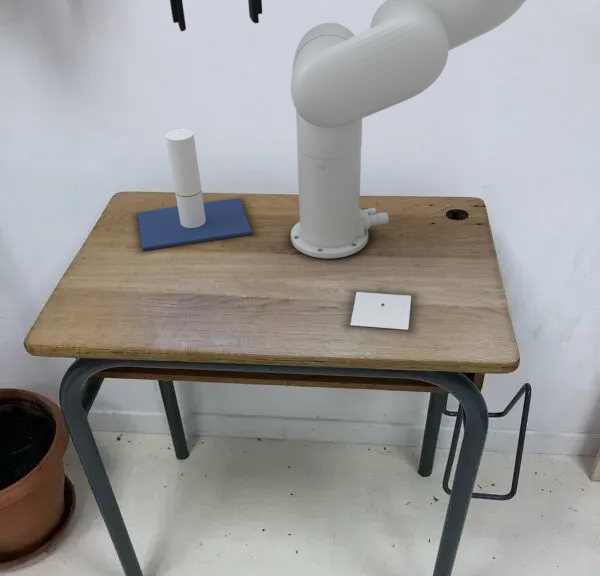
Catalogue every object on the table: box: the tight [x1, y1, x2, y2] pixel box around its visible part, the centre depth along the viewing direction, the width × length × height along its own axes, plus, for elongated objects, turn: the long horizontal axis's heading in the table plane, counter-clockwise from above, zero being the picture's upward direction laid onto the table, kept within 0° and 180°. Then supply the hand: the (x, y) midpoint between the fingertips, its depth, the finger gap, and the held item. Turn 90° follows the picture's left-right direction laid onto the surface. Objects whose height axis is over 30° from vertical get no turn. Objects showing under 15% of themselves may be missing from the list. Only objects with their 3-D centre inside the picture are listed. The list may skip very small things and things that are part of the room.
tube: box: [165, 128, 206, 228], centre depth 112 cm, size 4×4×15 cm
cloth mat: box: [137, 197, 253, 251], centre depth 118 cm, size 18×12×1 cm, turn 103°
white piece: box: [350, 291, 412, 331], centre depth 98 cm, size 8×8×1 cm
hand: (218, 24), depth 91 cm, fingers open, 9 cm apart
